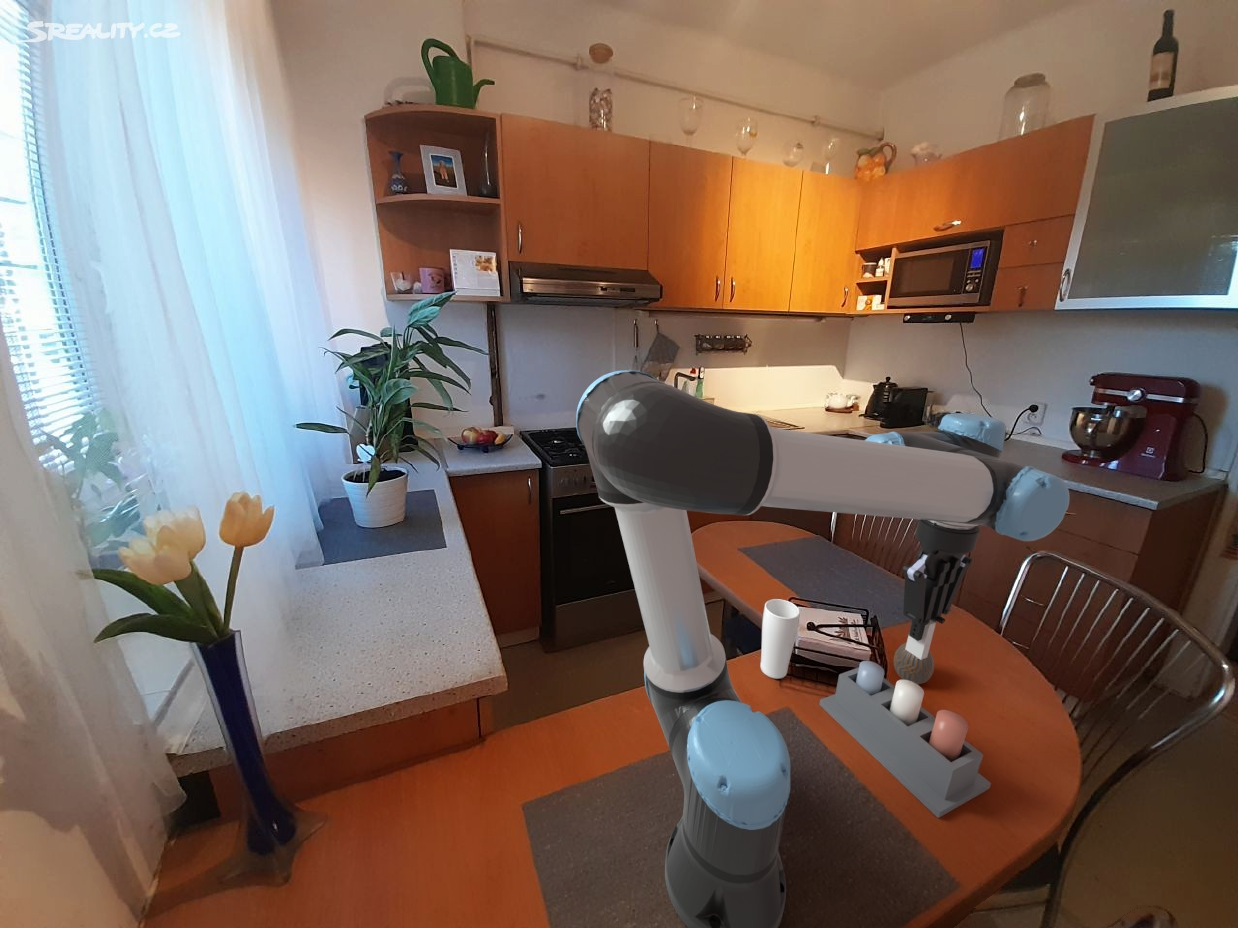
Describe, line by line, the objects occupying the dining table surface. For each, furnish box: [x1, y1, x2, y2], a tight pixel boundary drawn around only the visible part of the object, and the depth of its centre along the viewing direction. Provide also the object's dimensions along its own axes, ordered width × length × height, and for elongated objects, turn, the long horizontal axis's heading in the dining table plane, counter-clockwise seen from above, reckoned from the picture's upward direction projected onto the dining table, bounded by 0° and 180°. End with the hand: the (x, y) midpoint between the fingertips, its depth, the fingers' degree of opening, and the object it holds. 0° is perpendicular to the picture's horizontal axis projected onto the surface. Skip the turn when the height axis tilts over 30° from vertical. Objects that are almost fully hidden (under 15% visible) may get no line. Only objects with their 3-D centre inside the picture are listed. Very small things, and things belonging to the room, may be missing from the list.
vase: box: [893, 641, 935, 685], centre depth 96 cm, size 7×7×9 cm
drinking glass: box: [759, 598, 801, 680], centre depth 96 cm, size 7×7×15 cm
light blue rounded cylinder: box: [856, 660, 885, 696], centre depth 87 cm, size 4×4×7 cm
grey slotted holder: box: [819, 667, 992, 819], centre depth 82 cm, size 12×23×7 cm, turn 23°
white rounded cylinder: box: [890, 679, 925, 726], centre depth 80 cm, size 4×4×7 cm
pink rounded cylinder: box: [929, 709, 969, 762], centre depth 74 cm, size 4×4×7 cm
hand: (916, 653), depth 77 cm, fingers closed
